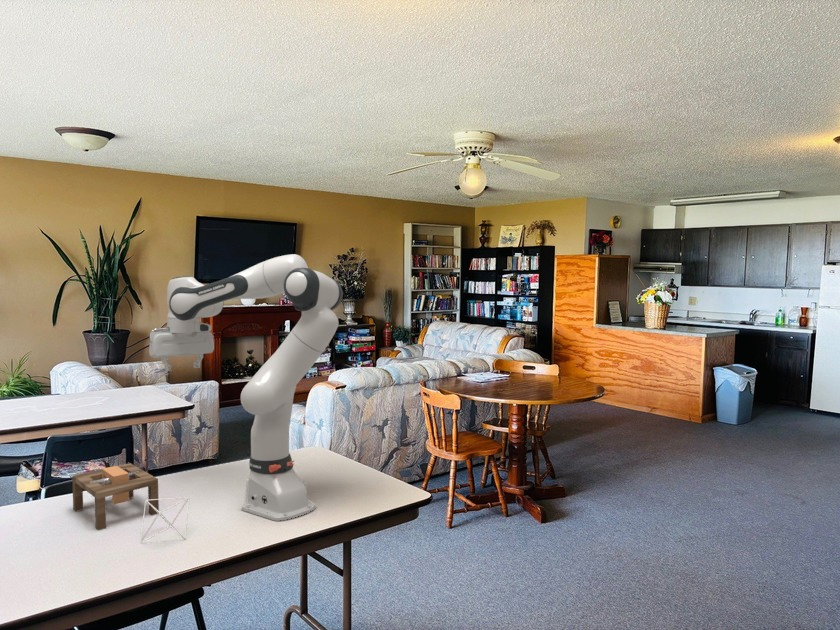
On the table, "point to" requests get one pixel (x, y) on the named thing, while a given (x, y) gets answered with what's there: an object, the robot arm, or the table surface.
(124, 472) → the tan cardboard brick
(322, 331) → the robot arm
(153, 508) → the geometric polyhedron
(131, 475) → the grey textured rod
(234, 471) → the table surface
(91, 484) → the small wooden table
